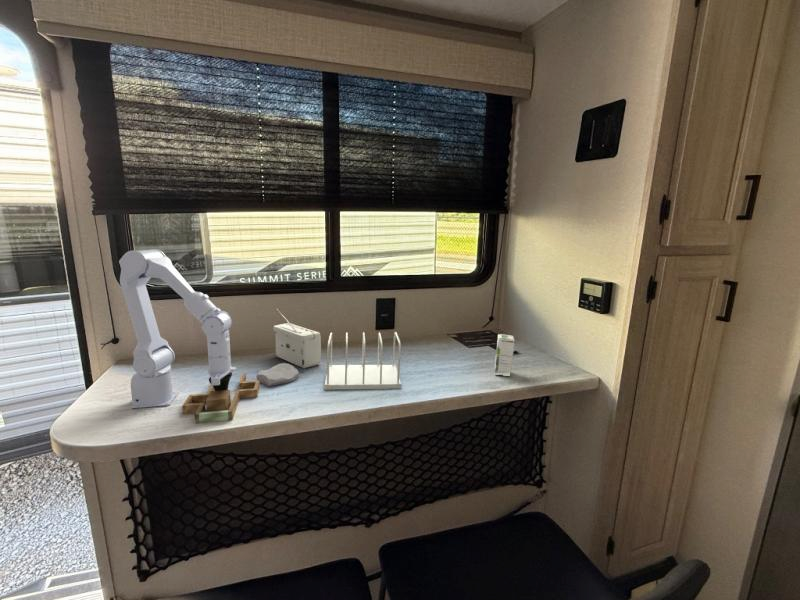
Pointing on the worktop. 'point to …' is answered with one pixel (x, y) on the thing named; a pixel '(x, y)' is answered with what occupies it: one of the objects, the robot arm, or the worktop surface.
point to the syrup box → (504, 353)
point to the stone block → (278, 375)
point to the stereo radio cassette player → (297, 344)
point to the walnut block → (218, 401)
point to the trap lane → (198, 407)
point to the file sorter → (363, 371)
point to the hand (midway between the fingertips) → (222, 398)
